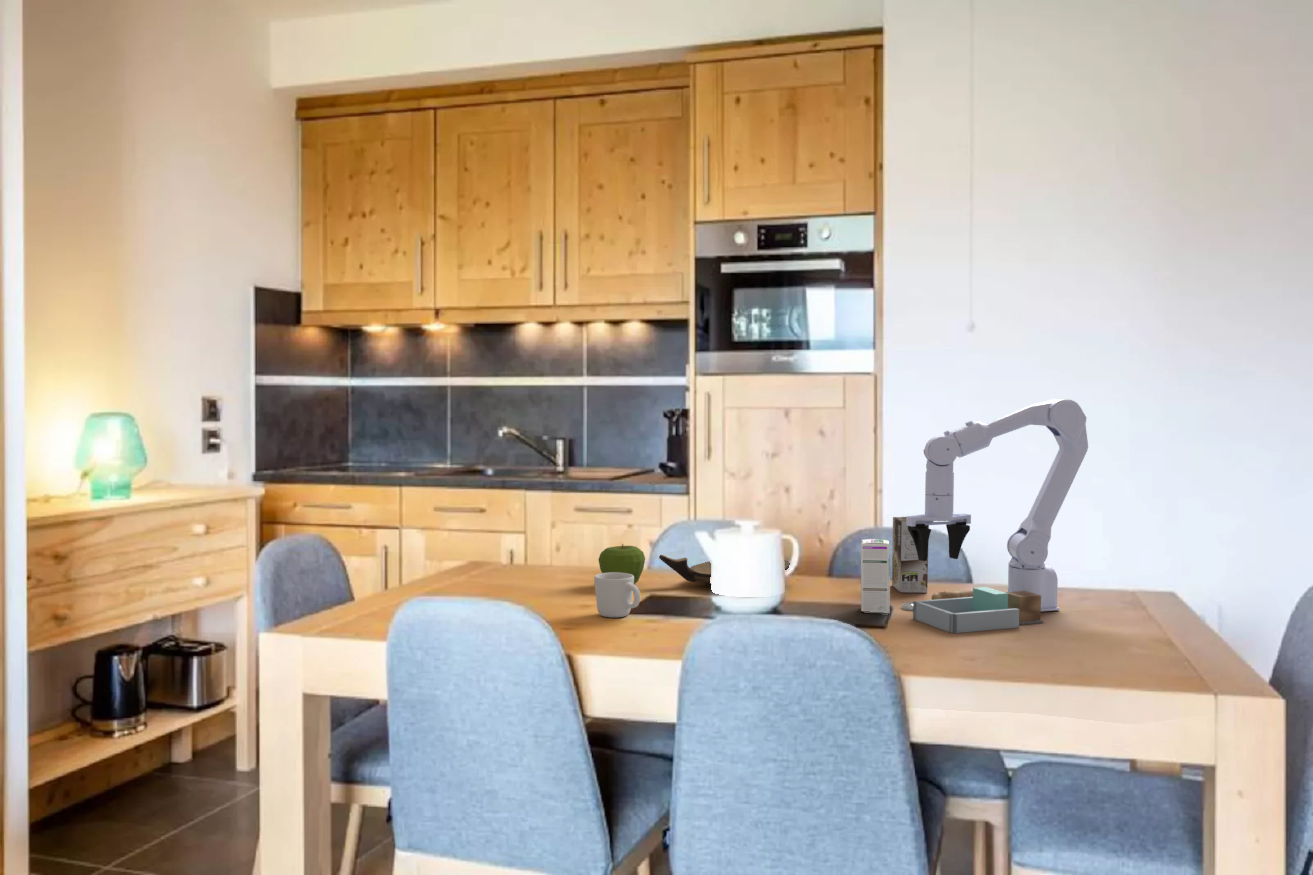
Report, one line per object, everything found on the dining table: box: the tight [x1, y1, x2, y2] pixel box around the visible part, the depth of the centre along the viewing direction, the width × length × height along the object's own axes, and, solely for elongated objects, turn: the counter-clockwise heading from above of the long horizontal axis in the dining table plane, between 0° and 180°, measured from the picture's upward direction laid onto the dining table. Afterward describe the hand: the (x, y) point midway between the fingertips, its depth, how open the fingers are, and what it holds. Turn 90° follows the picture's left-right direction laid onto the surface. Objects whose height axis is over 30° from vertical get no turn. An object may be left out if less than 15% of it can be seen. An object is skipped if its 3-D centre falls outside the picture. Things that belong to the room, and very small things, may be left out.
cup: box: [593, 572, 641, 619], centre depth 211 cm, size 11×8×8 cm
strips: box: [1019, 620, 1044, 626], centre depth 211 cm, size 6×10×1 cm, turn 20°
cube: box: [1004, 591, 1042, 622], centre depth 212 cm, size 5×5×5 cm
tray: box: [912, 597, 1020, 634], centre depth 207 cm, size 15×13×4 cm
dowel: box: [930, 589, 973, 600], centre depth 228 cm, size 12×2×2 cm, turn 110°
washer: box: [901, 601, 913, 612], centre depth 221 cm, size 4×4×1 cm
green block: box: [972, 586, 1008, 612], centre depth 210 cm, size 3×7×6 cm, turn 20°
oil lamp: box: [658, 554, 791, 585], centre depth 246 cm, size 22×30×8 cm
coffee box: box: [891, 516, 930, 594], centre depth 241 cm, size 9×6×16 cm
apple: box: [597, 543, 646, 585], centre depth 242 cm, size 11×10×10 cm
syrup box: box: [860, 538, 891, 614], centre depth 217 cm, size 6×6×14 cm
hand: (938, 559), depth 222 cm, fingers open, 7 cm apart
